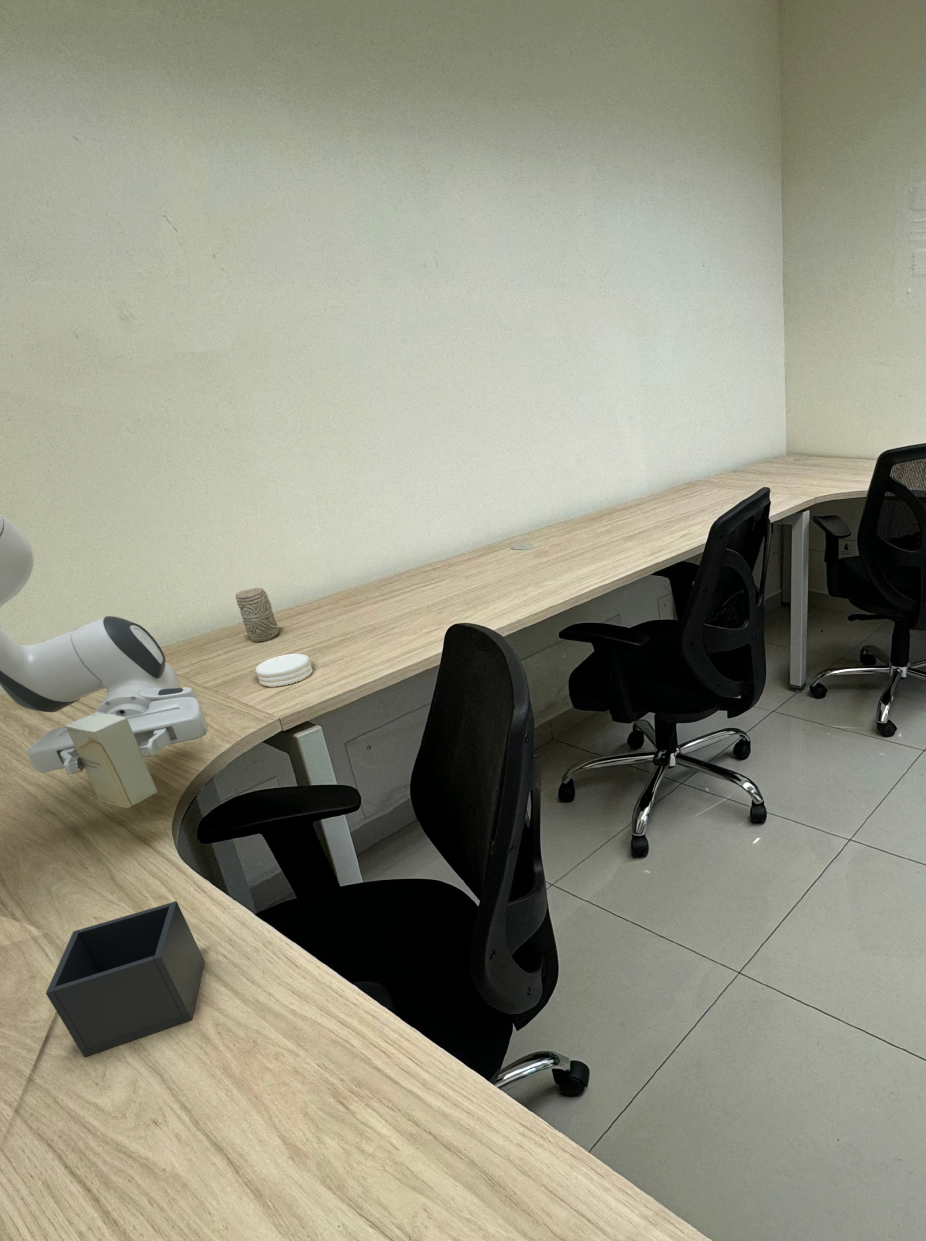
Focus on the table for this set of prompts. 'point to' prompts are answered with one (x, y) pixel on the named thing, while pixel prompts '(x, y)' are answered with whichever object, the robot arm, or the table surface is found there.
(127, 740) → the cosmetic box
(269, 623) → the carving
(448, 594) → the table surface
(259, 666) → the white ridged disc
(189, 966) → the waste bin
